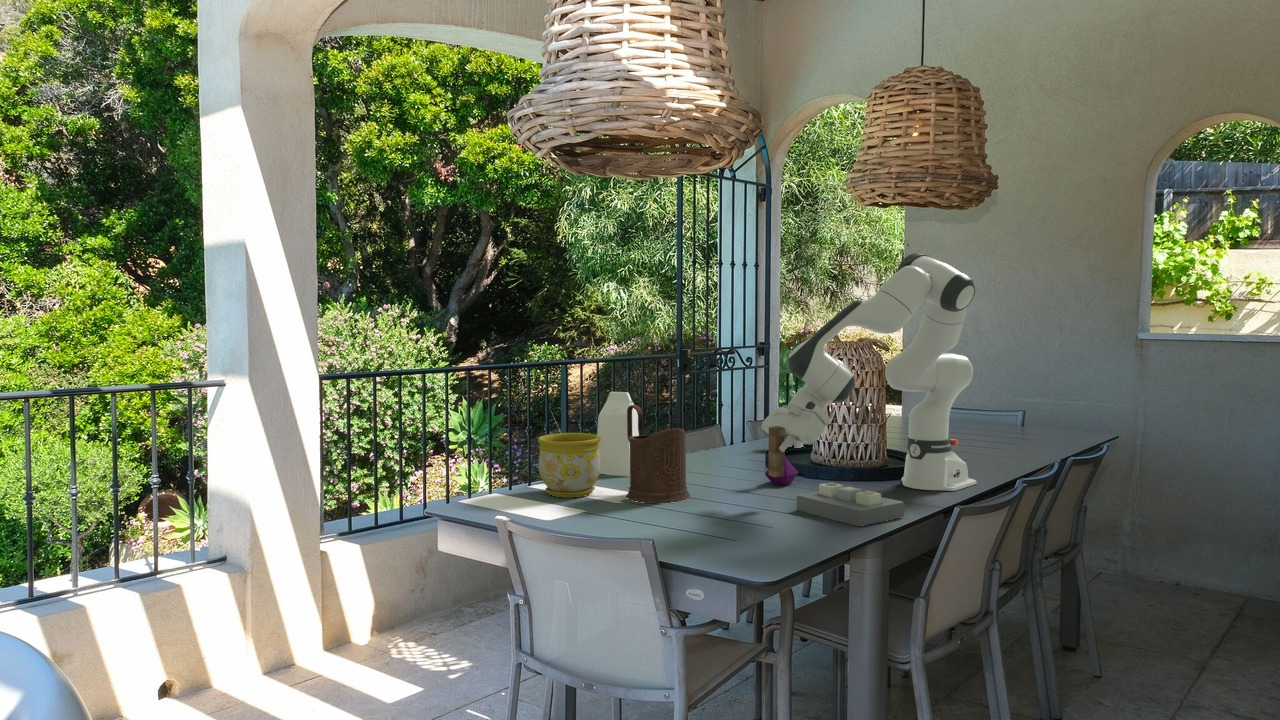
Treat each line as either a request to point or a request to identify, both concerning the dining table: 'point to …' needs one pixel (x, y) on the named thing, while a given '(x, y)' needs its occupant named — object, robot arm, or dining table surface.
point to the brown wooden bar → (776, 451)
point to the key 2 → (868, 498)
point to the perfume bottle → (788, 475)
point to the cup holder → (656, 463)
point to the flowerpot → (569, 463)
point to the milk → (616, 434)
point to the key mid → (847, 493)
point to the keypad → (849, 509)
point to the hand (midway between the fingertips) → (774, 448)
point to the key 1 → (829, 489)
